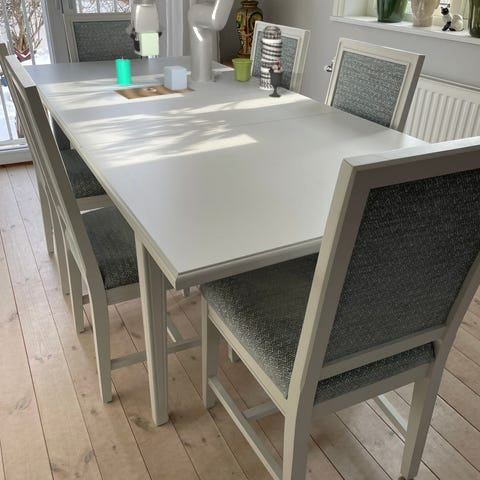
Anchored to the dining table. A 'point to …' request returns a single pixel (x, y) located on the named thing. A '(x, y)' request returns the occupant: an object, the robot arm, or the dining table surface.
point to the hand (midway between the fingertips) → (146, 50)
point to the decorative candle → (269, 54)
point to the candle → (123, 71)
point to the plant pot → (242, 69)
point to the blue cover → (175, 77)
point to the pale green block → (148, 44)
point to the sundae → (276, 77)
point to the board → (149, 91)
